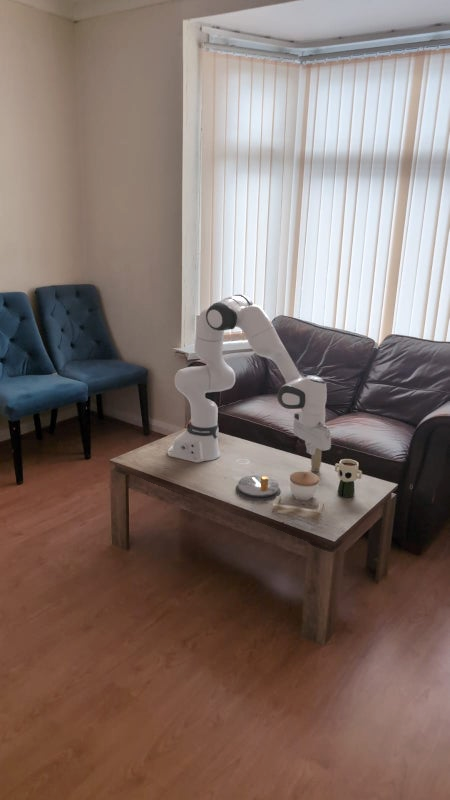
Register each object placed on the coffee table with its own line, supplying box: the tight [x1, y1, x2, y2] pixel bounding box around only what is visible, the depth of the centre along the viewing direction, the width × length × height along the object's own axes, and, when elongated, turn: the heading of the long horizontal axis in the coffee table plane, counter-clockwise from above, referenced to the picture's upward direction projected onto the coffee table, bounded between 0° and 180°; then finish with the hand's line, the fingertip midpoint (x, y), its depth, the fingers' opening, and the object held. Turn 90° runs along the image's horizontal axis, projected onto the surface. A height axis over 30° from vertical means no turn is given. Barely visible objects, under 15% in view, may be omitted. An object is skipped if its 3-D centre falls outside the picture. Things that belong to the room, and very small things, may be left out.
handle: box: [310, 448, 322, 473], centre depth 249 cm, size 5×6×15 cm
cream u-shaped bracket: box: [271, 495, 325, 520], centre depth 218 cm, size 17×8×2 cm, turn 74°
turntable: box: [237, 475, 279, 498], centre depth 231 cm, size 15×15×7 cm
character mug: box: [334, 458, 363, 498], centre depth 230 cm, size 11×7×13 cm, turn 52°
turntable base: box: [235, 484, 282, 502], centre depth 232 cm, size 17×17×1 cm
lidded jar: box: [289, 471, 320, 501], centre depth 228 cm, size 11×11×9 cm
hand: (310, 453), depth 235 cm, fingers closed
